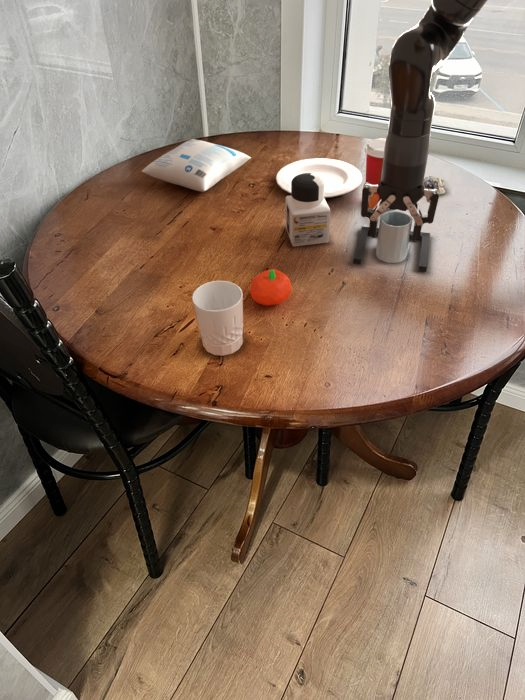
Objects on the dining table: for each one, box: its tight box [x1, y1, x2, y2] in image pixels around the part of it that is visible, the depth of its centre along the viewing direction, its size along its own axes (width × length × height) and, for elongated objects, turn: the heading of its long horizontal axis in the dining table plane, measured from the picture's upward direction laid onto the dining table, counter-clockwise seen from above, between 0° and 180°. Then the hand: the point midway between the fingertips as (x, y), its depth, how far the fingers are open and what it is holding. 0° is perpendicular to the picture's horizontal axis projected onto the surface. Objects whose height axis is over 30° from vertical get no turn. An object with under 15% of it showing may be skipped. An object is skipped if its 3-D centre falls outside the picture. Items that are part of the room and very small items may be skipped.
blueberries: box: [423, 175, 446, 196], centre depth 127 cm, size 7×8×2 cm
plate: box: [275, 157, 363, 199], centre depth 131 cm, size 21×21×2 cm
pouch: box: [141, 138, 252, 193], centre depth 133 cm, size 8×19×20 cm
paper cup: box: [364, 137, 389, 210], centre depth 118 cm, size 8×8×14 cm
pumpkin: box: [249, 268, 292, 306], centre depth 97 cm, size 7×8×6 cm
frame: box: [352, 225, 431, 273], centre depth 109 cm, size 14×12×1 cm
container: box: [285, 173, 331, 248], centre depth 110 cm, size 8×8×13 cm
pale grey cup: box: [375, 210, 414, 264], centre depth 105 cm, size 6×6×8 cm
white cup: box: [191, 280, 244, 357], centre depth 88 cm, size 8×8×10 cm
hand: (393, 237), depth 106 cm, fingers open, 7 cm apart
